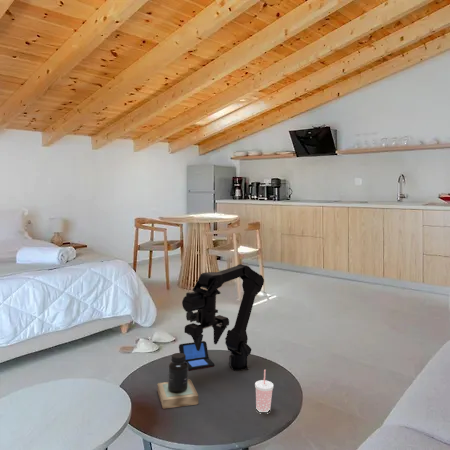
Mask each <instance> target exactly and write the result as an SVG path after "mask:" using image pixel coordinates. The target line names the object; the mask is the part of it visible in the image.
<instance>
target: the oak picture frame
mask: <svg viewBox="0 0 450 450" xmlns="http://www.w3.org/2000/svg"><path fill="white" fill-rule="evenodd" d="M157 394H158V398H159V401H160V404H161V408H162V409H164V410H165V409H171V408H179V407H186V406H188V407H189V406H193V405H195V406H196V405H199V393H198V392H197V389H196V388H195V385H194V384H193V382H192V380H191V379H188V386H187V390H186V391H184V392H181V393H173V392H171V391H169V389H168V381H166V382H165V381H164V382H158V383H157Z"/></svg>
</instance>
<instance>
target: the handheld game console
mask: <svg viewBox="0 0 450 450" xmlns="http://www.w3.org/2000/svg"><path fill="white" fill-rule="evenodd" d="M178 349H179V352H178V353H183V354H185V355H186V361H185V362H187V364H188V372H189V371H195V370H201V369H206V368H213V367H214V366H215V363H214V362H213V361H212V360H211V359H210V357H209V351H208V345H207V341H205V340H202V343H201V348H200V351H197V349H196V346H195V343H194V341H193V342H187V343H186V342H185V343H180V344H178Z"/></svg>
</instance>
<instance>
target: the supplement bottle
mask: <svg viewBox="0 0 450 450" xmlns="http://www.w3.org/2000/svg"><path fill="white" fill-rule="evenodd" d="M185 361H186V355H185V354H183V353H180V352H175V353H172V354H171V358H170V362H169V364H168V366H167V367H168V370H167V374H168V375H167V382H168V389H169V391H171V392H173V393H181V392H184V391H186V390H187V386H188V380H189V371H188V364H187V362H185Z"/></svg>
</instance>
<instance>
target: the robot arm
mask: <svg viewBox="0 0 450 450" xmlns="http://www.w3.org/2000/svg"><path fill="white" fill-rule="evenodd" d="M238 278H240V279H241V280H242V283H241V286H242V291H243V295H242V297H241V298H242V299H241V301H240V306H239V309H238V313H237V316H236V319H235V323H234V326H233V327H232V328H231V329H228V330H227V331H226V332H227V333H226V337H225V338H224V340H225V342H224V343H225V345H226V347H227V351H229V352H230V354H229V358H228V361H229V363H228V365H229V367H230V368H231V369H232V371H235V370H236V371H242V370H241V369H245V370H249V367H248V356H249V355H251V353H252V348H251V346H250V345H249V344H248V340H249V339H248V333H247V328H248V324H249V321H250V317H251V314H252V310H253V306H254V303H255V300H256V296H257V295H258V294H259V293H260V292H261V291H262V288H263V286H264V284H265V279H264V276H263V275H262V274H260V273H258V272H257V271H255V270H254V269H252V268H251V267H250V266H249V265H246V264H243V263H239V264H237V265H235V266H233V267H229V268H226V269H223V270H220V271H217V272H216V271H214V272H213V271H207V272H202V273H201V274H200V275H199V277H198V280H197V281H196V282H195V284H194V286H193V289H192V292H189V291H188V292H186V293H185V296H184V297H183V299H182V301H181V305H182V309H183V310H184V311H185V312H186V313H185V318H186V321H187V322H188V321H189V322H190V323H189V324H186V325H185V326H184V333H185V334H187V335H189V336H190V337H191V339H192V340H193V342H194V343H195V346H196V349H197V351H200V348H201V343H202V341H203V338H204V334H203V332H204V330H205V329H208V328H211V327H212V328H213V329H212V330H213V345H217V344H218V343H219V340H220V338H221V336H222V335H223V333H224V332H225V330H226V329H227V328H228V326H229V325H230V320H229V317H226V316H223V315H221V314H219V315H216V314H217V313H219V310H218V309H216V307H217V306H216V305H217V295H220V294H222V293H221V291H220V290H218V289H219V288H221V287H222V286H223V284H225V283H227V282H230V281H233V280H236V279H238ZM195 311H196V312H195ZM194 322H195V323H194ZM196 323H197V324H196Z"/></svg>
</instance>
